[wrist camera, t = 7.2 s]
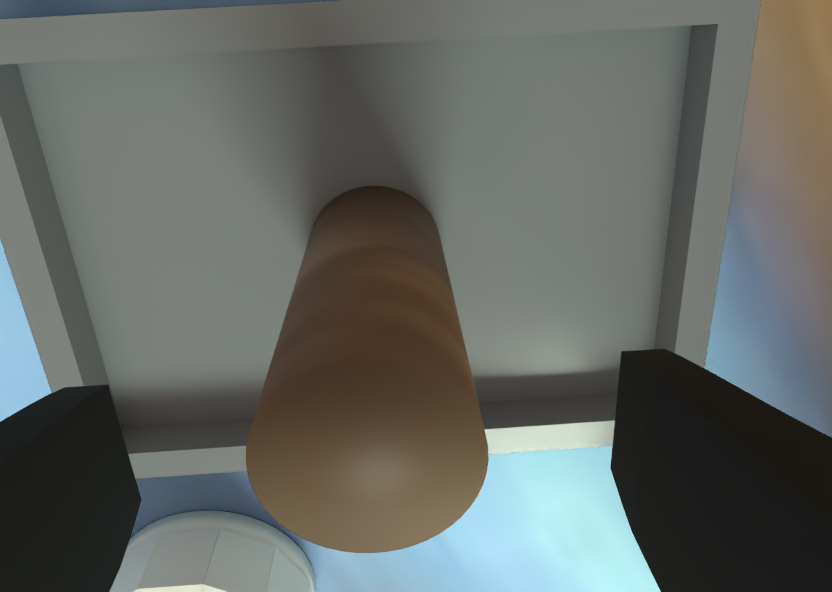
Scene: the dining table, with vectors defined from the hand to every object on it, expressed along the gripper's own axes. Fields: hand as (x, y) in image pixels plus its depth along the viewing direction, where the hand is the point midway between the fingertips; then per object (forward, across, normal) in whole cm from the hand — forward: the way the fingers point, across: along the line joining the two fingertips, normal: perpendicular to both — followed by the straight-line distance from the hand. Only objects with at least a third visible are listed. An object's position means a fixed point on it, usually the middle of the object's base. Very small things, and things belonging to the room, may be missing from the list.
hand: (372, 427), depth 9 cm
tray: (+8, 0, 0) cm, 8 cm away
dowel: (+7, 0, 0) cm, 7 cm away
